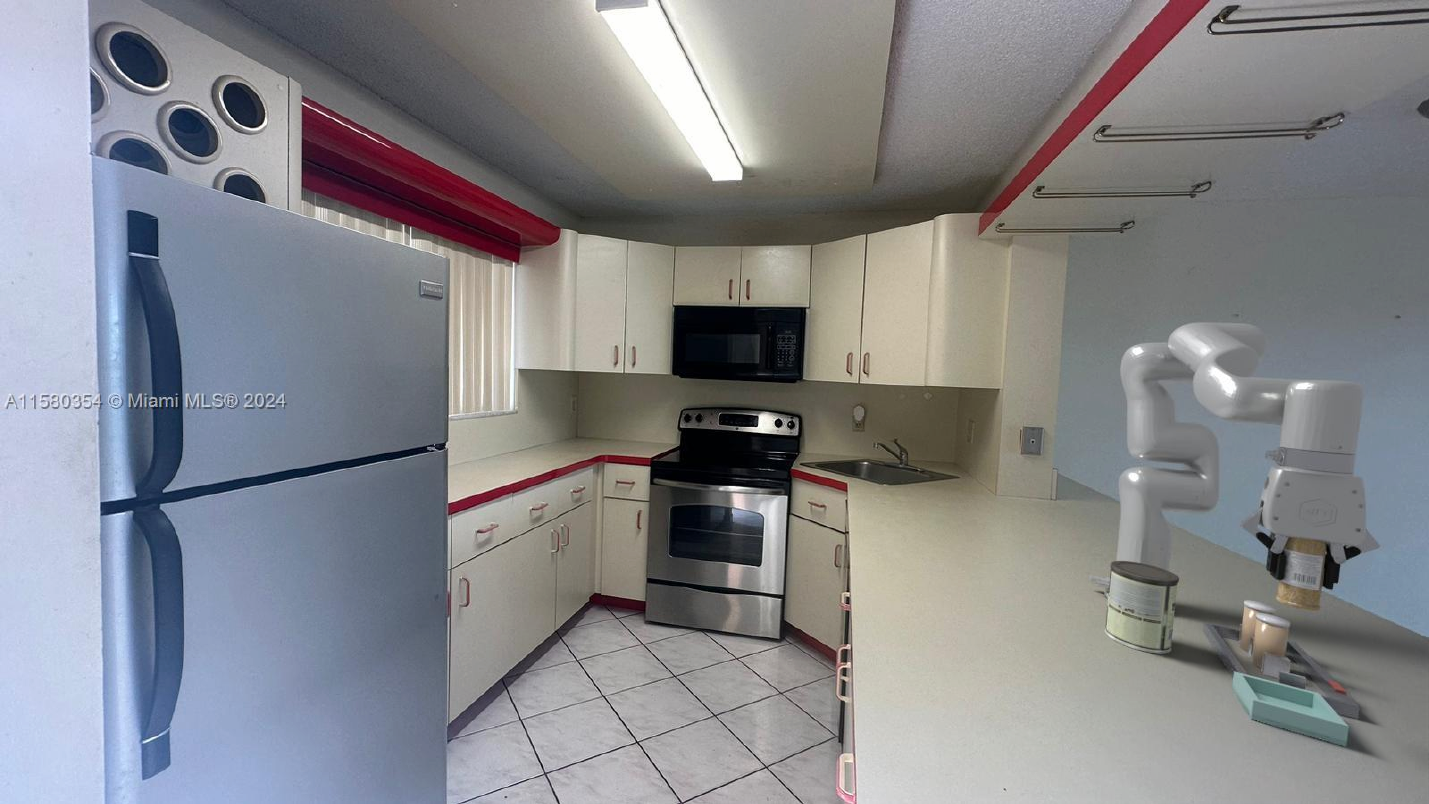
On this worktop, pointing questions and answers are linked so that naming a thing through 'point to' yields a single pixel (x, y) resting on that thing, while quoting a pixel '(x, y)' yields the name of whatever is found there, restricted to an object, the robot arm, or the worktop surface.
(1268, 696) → the tray
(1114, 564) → the coffee can
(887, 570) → the worktop surface
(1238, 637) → the frame
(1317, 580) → the sprinkles bottle
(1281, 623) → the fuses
